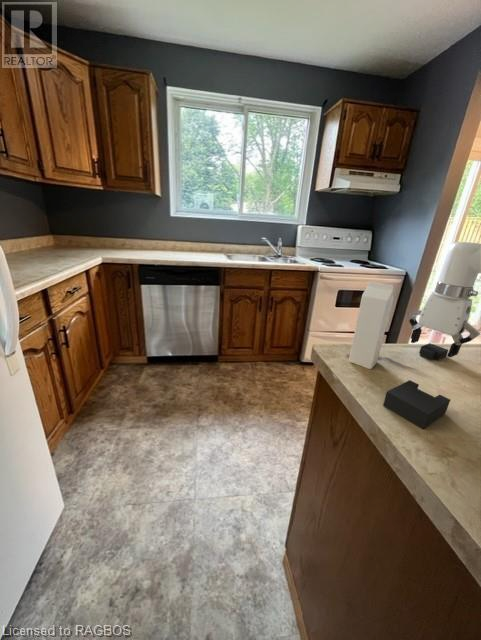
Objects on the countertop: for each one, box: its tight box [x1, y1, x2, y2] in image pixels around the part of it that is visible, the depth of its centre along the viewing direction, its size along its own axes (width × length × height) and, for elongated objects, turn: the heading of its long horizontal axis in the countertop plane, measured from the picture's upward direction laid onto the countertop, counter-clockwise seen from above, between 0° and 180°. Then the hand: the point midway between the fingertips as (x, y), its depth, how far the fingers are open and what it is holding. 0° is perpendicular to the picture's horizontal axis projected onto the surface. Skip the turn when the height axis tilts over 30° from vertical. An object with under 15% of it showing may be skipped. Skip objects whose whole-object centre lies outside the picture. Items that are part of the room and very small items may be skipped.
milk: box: [348, 281, 394, 370], centre depth 71 cm, size 6×6×22 cm
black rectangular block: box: [418, 342, 449, 362], centre depth 77 cm, size 7×5×4 cm
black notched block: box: [382, 379, 451, 430], centre depth 55 cm, size 9×8×4 cm
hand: (431, 348), depth 77 cm, fingers open, 9 cm apart
